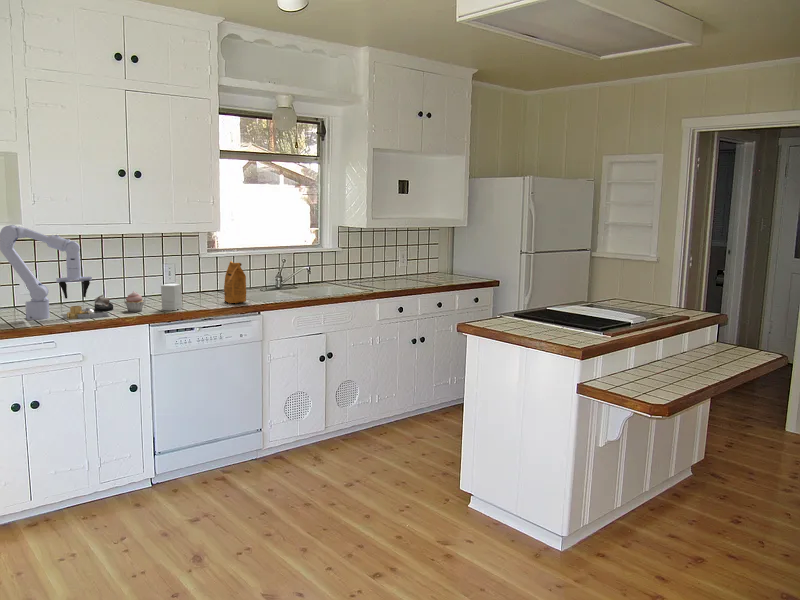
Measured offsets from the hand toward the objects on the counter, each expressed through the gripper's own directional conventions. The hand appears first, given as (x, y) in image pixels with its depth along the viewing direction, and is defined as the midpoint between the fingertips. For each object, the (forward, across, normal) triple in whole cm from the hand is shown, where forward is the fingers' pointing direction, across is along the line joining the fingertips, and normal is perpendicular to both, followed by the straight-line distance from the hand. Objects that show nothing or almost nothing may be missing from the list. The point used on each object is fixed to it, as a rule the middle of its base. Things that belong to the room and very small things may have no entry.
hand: (75, 297), depth 310 cm
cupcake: (+10, +28, +9) cm, 31 cm away
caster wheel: (+10, +15, +14) cm, 23 cm away
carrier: (+10, +4, 0) cm, 11 cm away
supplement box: (+10, +45, +5) cm, 46 cm away
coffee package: (+10, +81, +12) cm, 82 cm away
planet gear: (+9, 0, 0) cm, 9 cm away
